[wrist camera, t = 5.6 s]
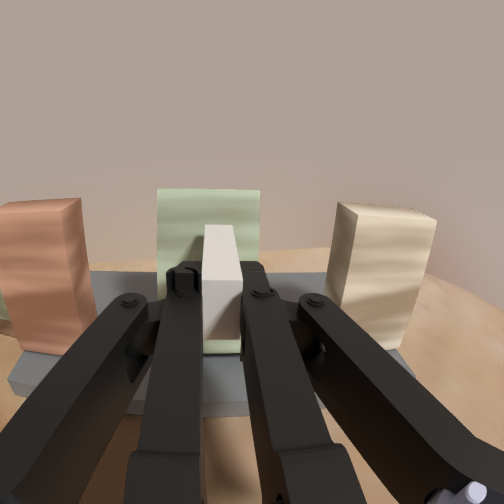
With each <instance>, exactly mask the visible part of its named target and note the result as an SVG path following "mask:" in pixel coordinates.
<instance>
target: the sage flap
mask: <svg viewBox="0 0 504 504" xmlns="http://www.w3.org/2000/svg"><path fill="white" fill-rule="evenodd" d="M157 197H158V198H157V289H158V301H159V300H162V299H164V298H166V295H167V286H166V272H167V270H168V269H170V268H172V267H176V266H177V265H178V264H179V263H181V262H182V261H203V248H204V235H205V225H232V226H233V231H234V236H235V241H236V246H237V252H238V257H239V261H258V262H259V223H260V221H259V220H260V190H231V189H158V196H157ZM240 347H241V334H240V340H203V353H240Z"/></svg>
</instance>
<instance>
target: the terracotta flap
mask: <svg viewBox="0 0 504 504" xmlns="http://www.w3.org/2000/svg"><path fill="white" fill-rule="evenodd" d="M81 206H82V205H81V198H69V199H68V198H67V199H50V200H49V199H48V200H32V201H19V202H9V203H7V204H5V205H3V206H1V207H0V288H1V292H2V295H3V299H4V302H5V305H6V308H7V311H8V314H9V317H10V320H11V323H12V326H13V328H14V331H15V334H16V337H17V339H18V342H19V344H20V347H21V349H22V350H27V351H33V352H40V353H46V354H53V355H61V356H63V355H64V354H65V352H66V351H67V350H68V349H69V348H70V347H71V346H72V345H73V343H74V342H75V341H76V340H77V339H78V338H79V337H80V336H81V334H82V333H83V332H84V331H85V330H86V329H87V328H88V327H89V326H90V324H91V323H92V322H93V321H94V320H95V319H96V318H97V317H98V314H97V310H96V305H95V300H94V294H93V289H92V284H91V278H90V272H89V265H88V259H87V251H86V244H85V236H84V227H83V217H82V207H81Z"/></svg>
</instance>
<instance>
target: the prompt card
mask: <svg viewBox="0 0 504 504" xmlns="http://www.w3.org/2000/svg"><path fill="white" fill-rule="evenodd" d="M0 334H4V335H8V336H12V337H16V334H15V331H14V328H13V326H12V323H11V320H10V317H9V314H8V311H7V308H6V305H5V302H4V299H3V295H2V292H1V288H0ZM16 338H17V337H16Z"/></svg>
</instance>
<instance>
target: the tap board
mask: <svg viewBox="0 0 504 504" xmlns="http://www.w3.org/2000/svg"><path fill="white" fill-rule="evenodd" d="M89 272H90V278H91V284H92V289H93V294H94V300H95V305H96V310H97V314H98V316H99V315H100V314H101V312H102V311H103V310H104V309H105V308H106V307H107V306H108V305H109V304H110V303H111V302H112V301H113V300H114V299H115V298H116V297H118V296H119V295H122V294H124V293H138V294H141V295H143V296H145V297H146V299H147V303H149V302H155V301H158V289H157V272H116V271H89ZM326 275H327V272H322V273H266V276H267V279H268V282H269V285H270V287H272V288H273V289H275V290H276V291H277V292H278V294H279V297H280V299H283V300H286V301H290V302H296V303H298V301H299V297H300V296H302V295H304V294H307V293H319V294H321V295H323V291H324V286H325V280H326ZM386 351H387V352H388V353H389V354H390V355H391V356H392V357H393V358H394V359H395V360H396V361H397V362H398V363H399V364H401V365H402V366H403V367H404V368H405V369H406V370H407V371H408V372H409V373H410V374H411V375H412V376H413V377H414V378H416V376H415V374H414V373H413V372H412V370H411V369H410V367H409V366H408V365H407V363H406V362H405V361H404V359H403V358H402V357H401V355H400V354H399V353H398V351H397V350H396V349H392V350H386ZM61 357H62V356H61V355H53V354H46V353H40V352H33V351H27V350H24V352H23V353H22V355H21V357H20V358H19V360H18V362H17V363H16V365H15V367H14V368H13V370H12V372H11V373H10V375H9V377H8V379H7V380H8V382H9V384H10V386H11V388H12V390H13V391H14V393H15V395H19V396H23V397H27V398H28V397H29V395H30V394H31V393H32V392H33V390H34V389H35V388H36V387H37V386H38V384H39V383H40V382H41V381H42V380H43V378H44V377H45V376H46V375H47V374H48V372H49V371H50V370H51V369H52V368H53V366H54V365H55V364H56V363H57V362H58V361H59V359H60V358H61ZM151 365H152V364H151ZM150 370H151V366H150V368H149V370H148V371H147V373H146V375H145V377H144V379H143V380H142V382H141V384H140V386H139V388H138V389H137V391H136V393H135V395H134V397H133V399H132V400H131V402H130V404H129V406H128V408H127V410H126V412H125V413H124V414H136V415H143V410H144V404H145V398H146V392H147V387H148V381H149V376H150ZM314 393H315V392H314ZM315 395H316V398H317V401H318V404H319V406H320V409H322V408H326V407H325V405H324V404H323V403H322V401H321V400H320V399H319V397H318V396H317V394H316V393H315ZM203 415H204V417H234V416H250V413H249V406H248V399H247V392H246V385H245V377H244V370H243V363H242V362H240V353H203Z"/></svg>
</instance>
